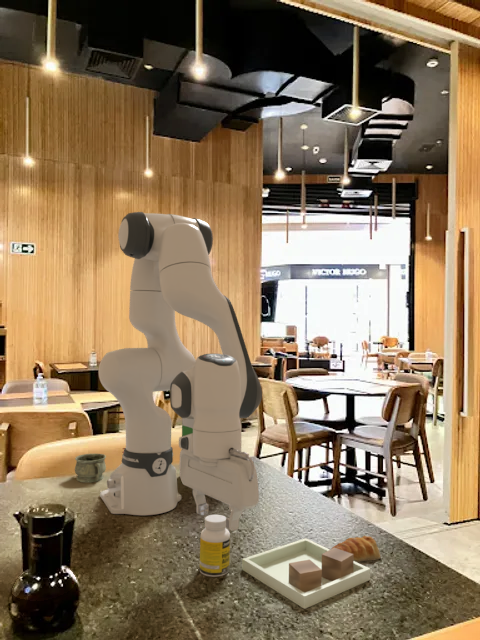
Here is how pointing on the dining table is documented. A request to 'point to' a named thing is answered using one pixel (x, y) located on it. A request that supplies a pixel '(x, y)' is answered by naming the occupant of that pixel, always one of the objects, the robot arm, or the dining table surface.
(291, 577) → the walnut block
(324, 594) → the tray
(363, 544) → the pastry
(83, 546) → the dining table surface
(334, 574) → the walnut block
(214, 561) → the supplement bottle
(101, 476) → the vessel
